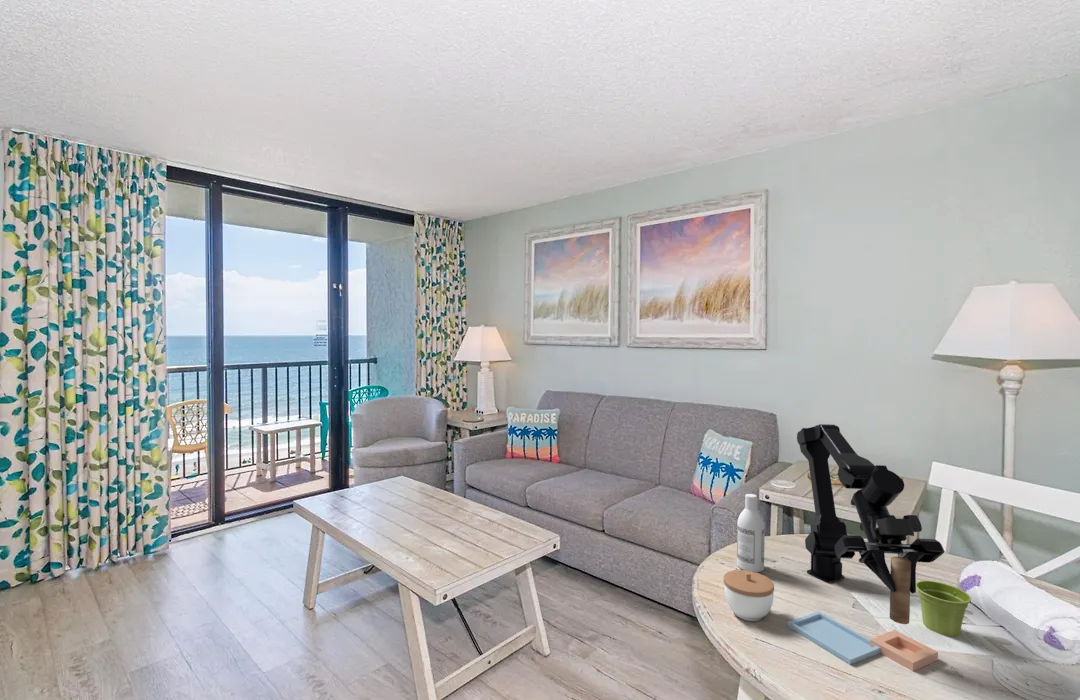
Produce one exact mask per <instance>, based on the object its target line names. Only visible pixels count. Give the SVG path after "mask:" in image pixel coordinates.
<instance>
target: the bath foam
mask: <svg viewBox="0 0 1080 700" xmlns="http://www.w3.org/2000/svg"><path fill="white" fill-rule="evenodd" d="M744 501H745V502H744V503H745V504H744V506H745V507H744V509H743V510H742V511H741V512H740V514H739V516H738V517H737V524H736V565H737V567H738V568H739V569H740V570H747V571H752V572H756V573H761V572H763V571H764V570H765V541H766V540H765V536H766V534H765V527H766V526H765V522H764V519H763V517H762V515H761V513H760V512H759V510H758V496H757V495H756V494H754V493H746V494H745V497H744Z"/></svg>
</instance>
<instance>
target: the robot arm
mask: <svg viewBox="0 0 1080 700" xmlns="http://www.w3.org/2000/svg"><path fill="white" fill-rule="evenodd" d="M796 441H797V444H798V445H799V448H800V449H799V450H800V453H801V454H802V455H803V456H804V457H805V459H806V460H807V462H808V466H809V467H808V469H809V475H810V483H811V489H812V490H811V491H812V497H813V505H814V511H815V517H813V520H812V522H811V524H810V531H809V534H808V535H807V537H806V538H805V540H804V542H805V543H804V544H805V549H806V550H807V551H808V552H809V554H810V568H809V569H807V570H806V573H807V574H809V575H811V576H814V577H815V578H817V579H818V580H822V581H824V582H826V583H832V582H833V583H834V582H836V581H840V580H843V579H845V575H843V562H842V561H841V560H842V559H851V560H852V559H853V558H854V557H855V555H856V553H857V552H858V553H859V555H860V558H858V562H859V563H861V564H864V565H865V566H866V567H868V569H869V570H870V571H871V572H872V573H873V574H875V575H876V576H877V578H879V580H880V582H882V583H883V584H884V585H885V586H886V587H887V588H888V590H889V592H890V591H891V592H893V593H894V592H896V588H895V584H894V581H893V579H892V577H891V571H890V570H889V568H888V565H887V562H886V557H885V554H893V555H894V554H895V555H897V557H903V558H906V559H908V560H910V561H911V578H910V594H912V595H914V594H915V593H916V592H917V589H916V582H917V577H916V576H917V573H916V571H917V563H933V562H934V561H936V560H937V559H938V558H939V557H941V556H942V555H944V553H946V551H945V549H944V547H943V544H942V543H941V542H940V541H939V540H937V539H935V538H920V537H919V538H916V539H915V540H914V541H913V542H912V543H911V544H909V543H902V542H905V541H907V539H908V538H907V536H911V537H914V536H915V533H920V532H922V530H923V526H922V523H921V521H920V519H919V517H918V515H917V514H907V515H903V517H902V518H900V517H899V518H898V517H896V516H895V515H894V514H893V515H892V514H890V512H889V509H888V507H887V506H890V505H892V503H893V502H894V501H895V500H896V498H898V497H899V495H900V494H901V493H902V492H903V491H904V489H905V483H904V480H903V478H901V477H900V476H899V475H898V474H896V473H895V472H894V471H891V470H889V469H888V468H887V465H886V464H885V465H883V464H882V465H881V464H879V465H878V464H876V465H875V464H874V463H873V462H871V461H870V460H869V459H867V458H866V457H863V456H860V455H858V454H857V452H856V451H855V450H854V449H853V448H852V446H851V445H850V443H849V442H848V440H847V439H846V438H845V436H843V434H842V432H841V430H840V426H838V425H836V424H828V423H827V424H825V423H823V424H821V423H819V424H817V425H815V426H811V427H802V428H801V430H799V431H798V432H797V433H796ZM830 456H831V457H832V459H833V460H834V461H835V463H836V465H837V466H838V469H837V476H838V480H839V482H840V483H841V484H842V486H843V487H844V488H845V489H849V490H850V489H851V490H853V489H854V490H856V489H857V491H856V492H854V493H853V495H852V498H851V499H850V505H851V506H854V507H855V509H856V511H857V515H858V517H859V520H860V524H859V529H860V531H863V532H864V534H865V537H866V540H867V541H865V539H864V537H863V536H862V535H849V534H848V533H847V525H846V523H845V522H844V521H841V519H840V518H839V517H838V515H837V511H836V507H835V499H834V491H833V485H832V479H831V473H830V466H829V458H830Z"/></svg>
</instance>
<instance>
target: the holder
mask: <svg viewBox="0 0 1080 700" xmlns="http://www.w3.org/2000/svg"><path fill="white" fill-rule="evenodd" d="M869 639H870V646H871V647H874V646H878V647H879V648H880V653H879V654H881V655H883V656H885V657H886V658H888V659H890V660H892V661H894V662H895V663H897V664H899V665H900V666H902V667H904V668H906V669H908V670H909V671H912V672H915V671H917V670H919V669H922V668H924V667H926V666H928V665H930V664H932V663H935V662H937V661H938V660H939V651H937V650H936V649H933V648H932V647H930V646H927V645H926V644H923V643H922V642H919V641H917V640H916V639H913V638H912V637H910V636H907V635H905V634H904V633H902V632H899V631H898V630H896V629H893V630H891V631H887V632H885V633H882V634H879V635H878V636H875V637H872V638H869Z"/></svg>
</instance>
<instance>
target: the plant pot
mask: <svg viewBox="0 0 1080 700" xmlns="http://www.w3.org/2000/svg"><path fill="white" fill-rule="evenodd" d="M916 591H917V594H918V596H919V601H920V608H921V609H920V610H921V617H922V623H923V626H924V627H925V628H927V630H929V631H931V632H934V633H936V634H939V635H942V636H946V637H957V636H960V635H961V631H962V625H963V622H964V617H965V614H966V613H965V612H966V609H967V608H968V607H969V604H970V603H971V602H972V597H971V596H970V595H969V594H968V593H967V592H966V591H964V590H963V589H961V588H959V587H957V586H953V585H951V584H948V583H945V582H940V581H935V580H924V579H923V580H918V581H916Z"/></svg>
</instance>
